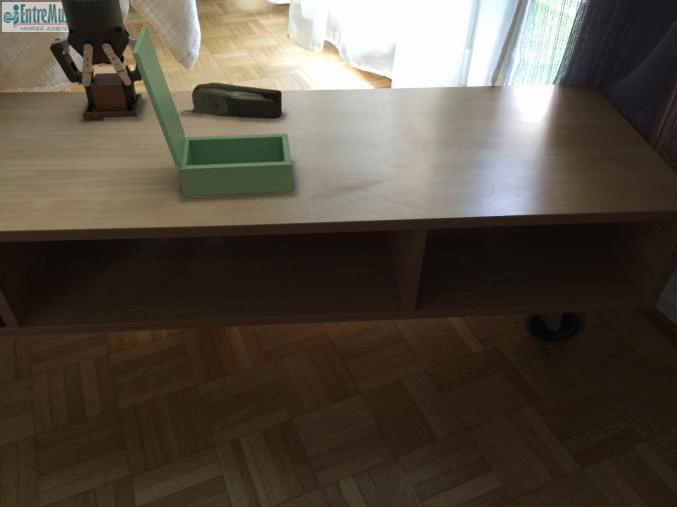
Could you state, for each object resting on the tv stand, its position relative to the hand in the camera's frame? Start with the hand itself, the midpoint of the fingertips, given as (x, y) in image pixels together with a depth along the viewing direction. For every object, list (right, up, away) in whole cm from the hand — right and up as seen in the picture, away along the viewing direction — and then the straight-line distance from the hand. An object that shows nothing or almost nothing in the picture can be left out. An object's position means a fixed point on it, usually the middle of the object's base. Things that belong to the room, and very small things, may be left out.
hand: (113, 105), depth 94 cm
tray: (0, -1, +1) cm, 1 cm away
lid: (+14, -4, -23) cm, 27 cm away
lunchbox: (+22, -13, -14) cm, 29 cm away
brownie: (0, 0, 0) cm, 0 cm away
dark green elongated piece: (+18, -2, +1) cm, 18 cm away
